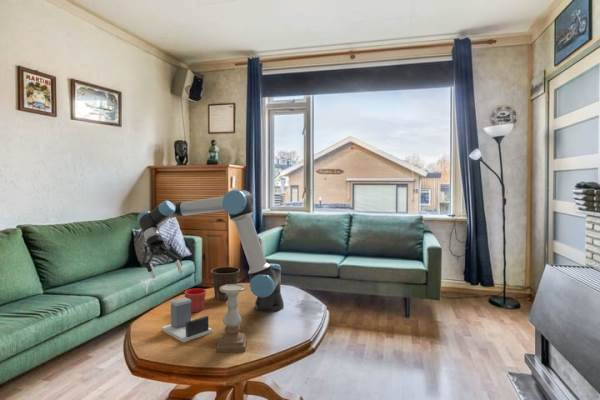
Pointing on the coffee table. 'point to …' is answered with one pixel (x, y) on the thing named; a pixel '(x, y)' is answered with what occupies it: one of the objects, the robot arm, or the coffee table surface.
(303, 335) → the coffee table surface
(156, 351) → the coffee table surface
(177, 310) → the grey rectangular block
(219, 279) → the plant pot
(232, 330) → the candle holder
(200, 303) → the flower pot
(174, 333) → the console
